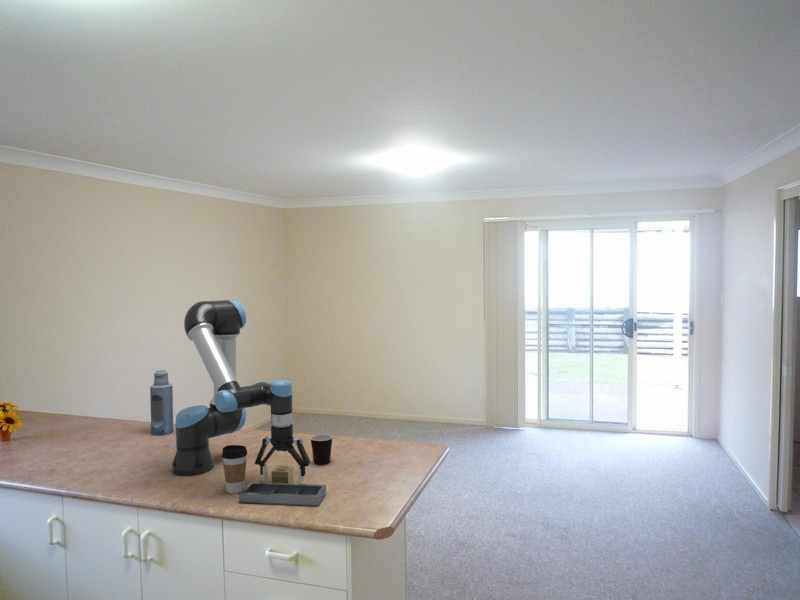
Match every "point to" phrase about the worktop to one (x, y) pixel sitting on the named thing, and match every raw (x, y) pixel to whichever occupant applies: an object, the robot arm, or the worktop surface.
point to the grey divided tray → (283, 494)
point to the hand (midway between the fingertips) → (283, 484)
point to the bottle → (161, 404)
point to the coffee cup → (234, 467)
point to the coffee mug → (321, 448)
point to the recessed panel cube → (283, 474)
